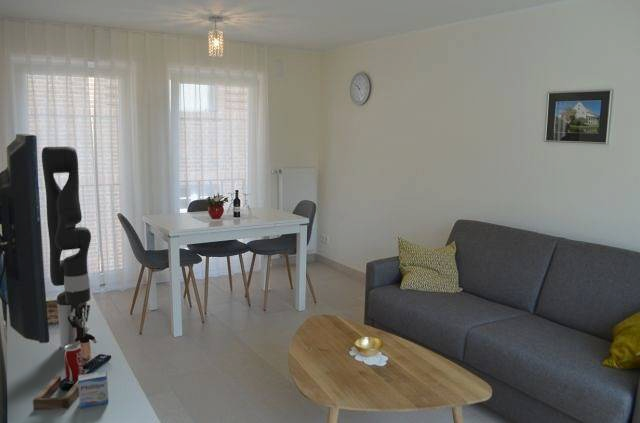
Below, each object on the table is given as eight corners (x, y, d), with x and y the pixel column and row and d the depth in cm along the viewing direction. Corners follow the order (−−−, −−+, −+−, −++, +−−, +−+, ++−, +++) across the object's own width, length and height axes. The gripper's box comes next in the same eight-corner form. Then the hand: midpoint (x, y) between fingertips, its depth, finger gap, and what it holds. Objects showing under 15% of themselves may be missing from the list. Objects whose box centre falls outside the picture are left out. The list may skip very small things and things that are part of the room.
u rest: (56, 385, 165) (55, 376, 164) (87, 384, 165) (86, 375, 165) (33, 409, 150) (32, 400, 150) (68, 408, 151) (67, 399, 150)
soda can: (77, 385, 164) (74, 350, 162) (62, 384, 165) (59, 348, 163) (87, 378, 169) (84, 343, 167) (73, 376, 170) (70, 342, 168)
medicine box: (79, 409, 151) (77, 381, 149) (80, 401, 155) (78, 374, 153) (108, 403, 154) (106, 376, 152) (108, 396, 158) (106, 369, 156)
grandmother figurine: (74, 362, 181) (71, 328, 179) (74, 357, 184) (72, 324, 182) (97, 358, 184) (95, 324, 182) (98, 354, 187) (95, 321, 185)
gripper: (73, 281, 176) (77, 330, 179) (56, 293, 163) (61, 345, 165) (96, 281, 176) (99, 329, 179) (80, 293, 163) (84, 344, 166)
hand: (81, 337), depth 172 cm, fingers closed
